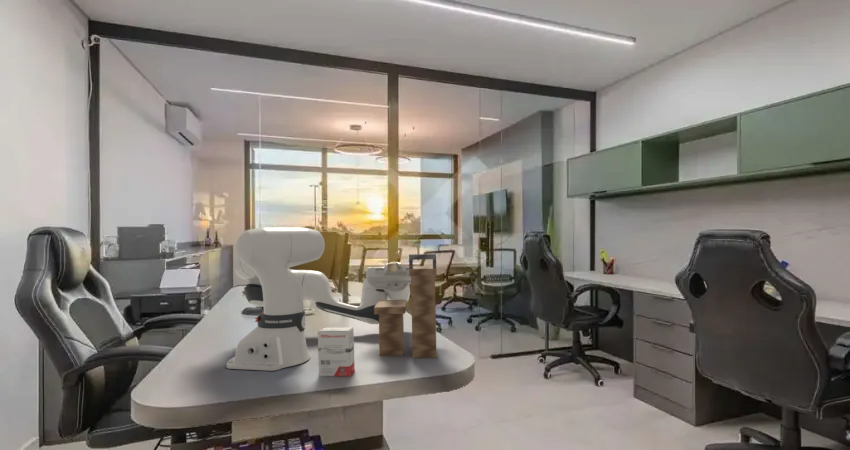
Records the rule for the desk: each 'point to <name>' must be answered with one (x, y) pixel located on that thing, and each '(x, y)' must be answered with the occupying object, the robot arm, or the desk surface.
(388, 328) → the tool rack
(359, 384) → the desk surface
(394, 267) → the handle
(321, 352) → the ink box
